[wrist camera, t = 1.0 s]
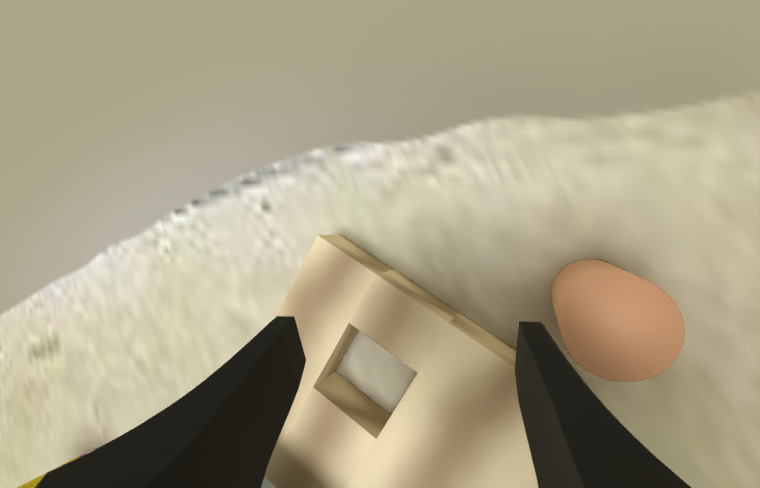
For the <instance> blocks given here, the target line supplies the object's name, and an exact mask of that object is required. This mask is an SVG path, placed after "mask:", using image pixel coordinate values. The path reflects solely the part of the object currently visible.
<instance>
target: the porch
mask: <svg viewBox="0 0 760 488" xmlns="http://www.w3.org/2000/svg"><path fill="white" fill-rule="evenodd" d="M277 316H294V317H295V321H296V325H297V328H298V332H299V336H300V339H301V343H302V347H303V350H304V354H305V358H306V363H305V367H304V371H303V375H302V379H301V382H300V386H299V389H298V392H297V394H296V397H295V399H294V402H293V404H292V407H291V409H290V412H289V414H288V416H287V419H286V421H285V424H284V426H283V428H282V431H281V433H280V436H279V438H278V441H277V443H276V445H275V448H274V450H273V453H272V455H271V458H270V461H269V464H268V466H267V469H266V473H265V476H264V479H263V483H262V486H261V488H538V483H537V478H536V473H535V469H534V465H533V461H532V457H531V452H530V448H529V444H528V440H527V436H526V432H525V427H524V423H523V419H522V415H521V410H520V406H519V402H518V394H517V386H516V377H515V360H516V350H515V349H513V348H511V347H510V346H508V345H507V344H505V343H504V342H502V341H501V340H499V339H498V338H496V337H495V336H493V335H492V334H490V333H489V332H487V331H486V330H484V329H483V328H481V327H480V326H478V325H476V324H475V323H473V322H472V321H470V320H469V319H467V318H466V317H464V316H463V315H461V314H460V313H458V312H457V311H455V310H454V309H452V308H451V307H449V306H448V305H446V304H445V303H443V302H441V301H440V300H438V299H437V298H435V297H434V296H432V295H431V294H429V293H428V292H426V291H425V290H423V289H422V288H420V287H419V286H417V285H416V284H414V283H413V282H411V281H410V280H408V279H406V278H405V277H403V276H402V275H400V274H399V273H397V272H396V271H394V270H393V269H391V268H390V267H388V266H387V265H385V264H384V263H382V262H381V261H379V260H378V259H376V258H375V257H373V256H372V255H370V254H368V253H367V252H365V251H364V250H362V249H361V248H359V247H358V246H356V245H355V244H353V243H352V242H350V241H349V240H347V239H346V238H344V237H343V236H341V235H318V236H317V238H316V240H315V242H314V244H313V246H312V248H311V250H310V252H309V254H308V256H307V258H306V260H305V262H304V264H303V265H302V267H301V269H300V271H299V273H298V275H297V277H296V279H295V281H294V283H293V285H292V287H291V289H290V291H289V293H288V295H287V297H286V299H285V301H284V303H283V304H282V306H281V308H280V310H279V312H278V314H277ZM277 316H276V317H277ZM358 330H360V331H361V332H362V333H364V334H365V335H366V336H368V337H369V338H371V339H372V340H373V341H375V342H376V343H377V344H379V345H380V346H381V347H383V348H384V349H386V350H387V351H388V352H390V353H391V354H392V355H394V356H395V357H396V358H398V359H399V360H401V361H402V362H403V363H405V364H406V365H407V366H409V367H410V368H411V369H413V370H414V371H416V372H417V373H418V374H417V375H416V377H415V378H414V380H413V382H412V383H411V385H410V386H409V388H408V390H407V391H406V393H405V394H404V396H403V398H402V399H401V401H400V402H399V404H398V406H397V407H396V409H395V410H394V412H393V413H392V415H390V414H388V413H387V412H386V411H385V410H383V409H382V408H381V407H379V406H378V405H377V404H376V403H374V402H373V401H372V400H371V399H369V398H368V397H367V396H366V395H364V394H363V393H362V392H360V391H359V390H358V389H357V388H355V387H354V386H353V385H352V384H350V383H349V382H348V381H346V380H345V379H344V378H343V377H341V376H340V375H339V374H338V373H336V372H335V370H336V368H337V367H338V365H339V363H340V361H341V360H342V358H343V356H344V354H345V353H346V351H347V349H348V347H349V346H350V344H351V342H352V340H353V339H354V337H355V335H356V333H357V332H358Z"/></svg>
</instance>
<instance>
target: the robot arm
mask: <svg viewBox="0 0 760 488" xmlns="http://www.w3.org/2000/svg"><path fill="white" fill-rule="evenodd" d="M305 363H306V358H305V354H304V350H303V347H302V343H301V339H300V336H299V332H298V328H297V325H296V321H295V317H294V316H277V317H276V318H275V319H273V320H272V321H271V322H270V323H269V324H268V325H267V326H266V327H265V328H264V329H263V330H261V331H260V332H259V333H258V334H257V335H256V336H255V337H254V338H253V339H252V340H251V341H250V342H249V343H247V344H246V345H245V346H244V347H243V348H242V349H241V350H240V351H239V352H238V353H236V354H235V355H234V356H233V357H232V358H231V359H230V360H229V361H227V362H226V363H225V364H224V365H223V366H221V367H220V368H219V369H218V370H217V371H215V372H214V373H213V374H212V375H211V376H209V377H208V378H207V379H206V380H205V381H203V382H202V383H201V384H199V385H198V386H197V387H195V388H194V389H193V390H192V391H190V392H189V393H187V394H186V395H185V396H183V397H182V398H180V399H179V400H178V401H176V402H175V403H173V404H172V405H170V406H169V407H167V408H166V409H164V410H163V411H161V412H159V413H158V414H156V415H155V416H153V417H152V418H150V419H148V420H147V421H145V422H144V423H142V424H141V425H139V426H137V427H136V428H134V429H132V430H130V431H129V432H127V433H125V434H123V435H122V436H120V437H118V438H116V439H114V440H112V441H111V442H109V443H107V444H105V445H103V446H101V447H99V448H97V449H96V450H94V451H92V452H90V453H88V454H86V455H83V456H81V457H79V458H77V459H75V460H73V461H71V462H69V463H67V464H65V465H63V466H61V467H58V468H56V469H54V470H52V471H50V472H48V473H47V474H46V475H45V476H44V477H43V478H42V479H41V481H40V482H39V483H38V484H37V485H36V486H35V488H261V486H262V483H263V479H264V476H265V473H266V469H267V466H268V464H269V461H270V458H271V455H272V453H273V450H274V448H275V445H276V443H277V441H278V438H279V436H280V433H281V431H282V428H283V426H284V424H285V421H286V419H287V416H288V414H289V412H290V409H291V407H292V404H293V402H294V399H295V397H296V394H297V392H298V389H299V386H300V382H301V379H302V375H303V371H304V367H305ZM515 377H516V386H517V394H518V402H519V406H520V410H521V415H522V419H523V423H524V427H525V432H526V436H527V440H528V444H529V448H530V452H531V457H532V461H533V465H534V469H535V473H536V478H537V483H538V488H691V487H690V486H689V485H687V484H686V483H685V482H684V481H683V480H682V479H681V478H679V477H678V476H677V475H676V474H675V473H674V472H672V471H671V470H670V469H669V468H668V467H667V466H665V465H664V464H663V463H662V462H661V461H660V460H659V459H657V458H656V457H655V456H654V455H653V454H652V453H651V452H650V451H649V450H648V449H647V448H646V447H644V446H643V445H642V444H641V443H640V442H639V441H638V440H637V439H636V438H635V437H634V436H633V435H632V434H631V433H630V432H629V431H628V430H627V429H626V428H625V427H624V426H623V425H622V424H621V423H620V422H619V421H618V420H617V419H616V418H615V417H614V416H613V414H612V413H611V412H610V411H609V410H608V409H607V408H606V407H605V406H604V405H603V403H602V402H601V401H600V400H599V399H598V398H597V396H596V395H595V394H594V393H593V392H592V391H591V389H590V388H589V387H588V386H587V385H586V383H585V382H584V381H583V380H582V378H581V377H580V376H579V375H578V373H577V372H576V371H575V369H574V368H573V367H572V366H571V364H570V363H569V362H568V360H567V359H566V358H565V356H564V355H563V353H562V352H561V351H560V349H559V348H558V346H557V345H556V343H555V342H554V340H553V339H552V337H551V336H550V334H549V333H548V331H547V330H546V328H545V326H544V325H543V324H542V323H541V322H519V329H518V339H517V350H516V360H515Z"/></svg>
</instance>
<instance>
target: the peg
mask: <svg viewBox="0 0 760 488" xmlns="http://www.w3.org/2000/svg"><path fill="white" fill-rule="evenodd" d="M551 299H552V303H553V307H554V311H555V314H556V318H557V322H558V325H559V329H560V333H561V336H562V339H563V342H564V345H565V347H566V349H567V350H568V352H569V353H570V355H571V356H572V357H573V358H574V360H575V361H576V362H577V363H578V364H579V365H581V366H582V367H583V368H585V369H586V370H587V371H589V372H591V373H593V374H594V375H597V376H599V377H601V378H605V379H608V380H612V381H618V382H635V381H641V380H645V379H648V378H651V377H653V376H655V375H657V374H659V373H661V372H662V371H664V370H665V369H666V368H668V367H669V366H670V365H671V364H672V363H673V362H674V360H675V359H676V357H677V356H678V354H679V352H680V350H681V348H682V345H683V341H684V323H683V318H682V316H681V313H680V311H679V309H678V307H677V305H676V304H675V302H674V301H673V300H672V298H671V297H670V296H669V295H668V294H667V293H666V292H665V291H664V290H662V289H661V288H660V287H658V286H657V285H655V284H653V283H652V282H649V281H647V280H645V279H643V278H641V277H638V276H636V275H634V274H632V273H629V272H627V271H625V270H623V269H620V268H618V267H616V266H614V265H611V264H609V263H607V262H604V261H601V260H595V259H584V260H579V261H575V262H573V263H571V264H569V265H567V266H566V267H564V268H563V269H562V270H561V271H560V272H559V273H558V274H557V276H556V277H555V279H554V281H553V284H552V288H551Z"/></svg>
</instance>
